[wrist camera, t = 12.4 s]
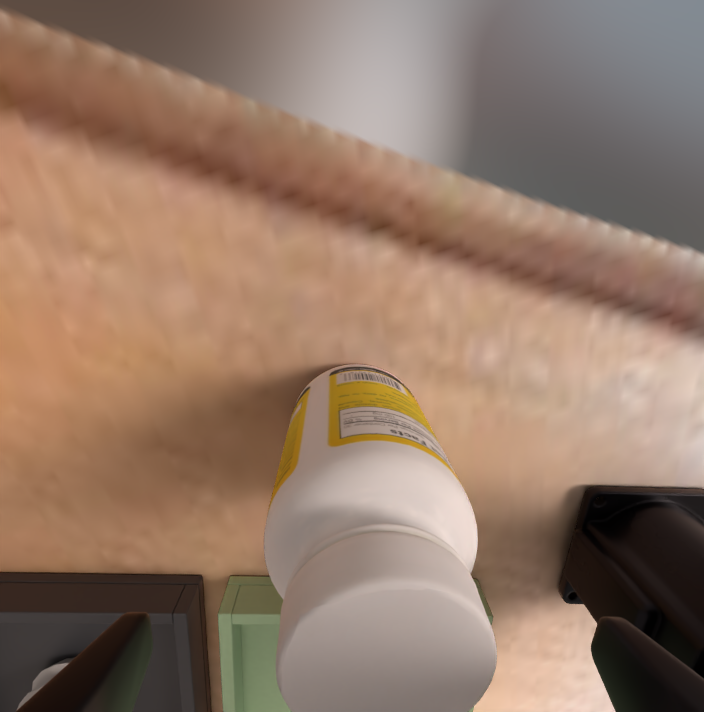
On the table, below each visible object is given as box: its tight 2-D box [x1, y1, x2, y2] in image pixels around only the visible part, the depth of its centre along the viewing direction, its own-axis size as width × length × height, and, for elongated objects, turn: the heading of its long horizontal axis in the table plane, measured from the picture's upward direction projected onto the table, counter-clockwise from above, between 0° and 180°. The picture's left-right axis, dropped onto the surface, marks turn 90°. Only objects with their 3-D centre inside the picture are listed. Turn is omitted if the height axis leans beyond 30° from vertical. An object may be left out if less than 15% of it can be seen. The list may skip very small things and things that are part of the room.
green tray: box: [218, 576, 493, 712], centre depth 19 cm, size 12×13×2 cm
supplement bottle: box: [264, 364, 497, 712], centre depth 11 cm, size 5×5×10 cm
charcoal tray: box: [0, 573, 211, 712], centre depth 18 cm, size 12×13×2 cm
